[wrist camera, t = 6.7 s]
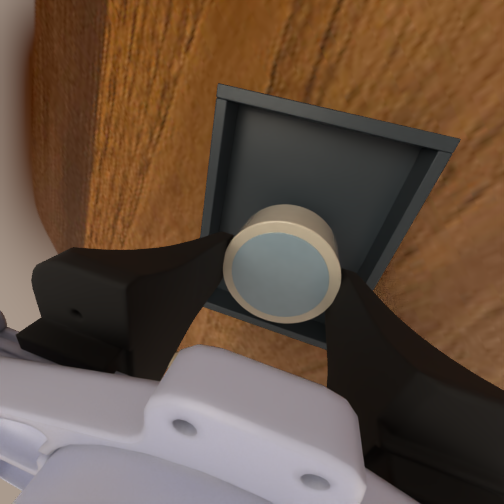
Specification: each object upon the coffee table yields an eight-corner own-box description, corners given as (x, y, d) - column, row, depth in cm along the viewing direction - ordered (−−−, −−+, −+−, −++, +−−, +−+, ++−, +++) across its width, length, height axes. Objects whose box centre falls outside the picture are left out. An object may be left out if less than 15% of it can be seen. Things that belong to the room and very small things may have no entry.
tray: (334, 328, 19) (336, 353, 17) (205, 285, 21) (192, 303, 18) (436, 137, 12) (461, 138, 10) (233, 90, 14) (217, 82, 12)
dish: (316, 305, 14) (316, 339, 12) (230, 276, 15) (214, 303, 12) (354, 221, 12) (363, 244, 9) (248, 191, 12) (231, 205, 10)
